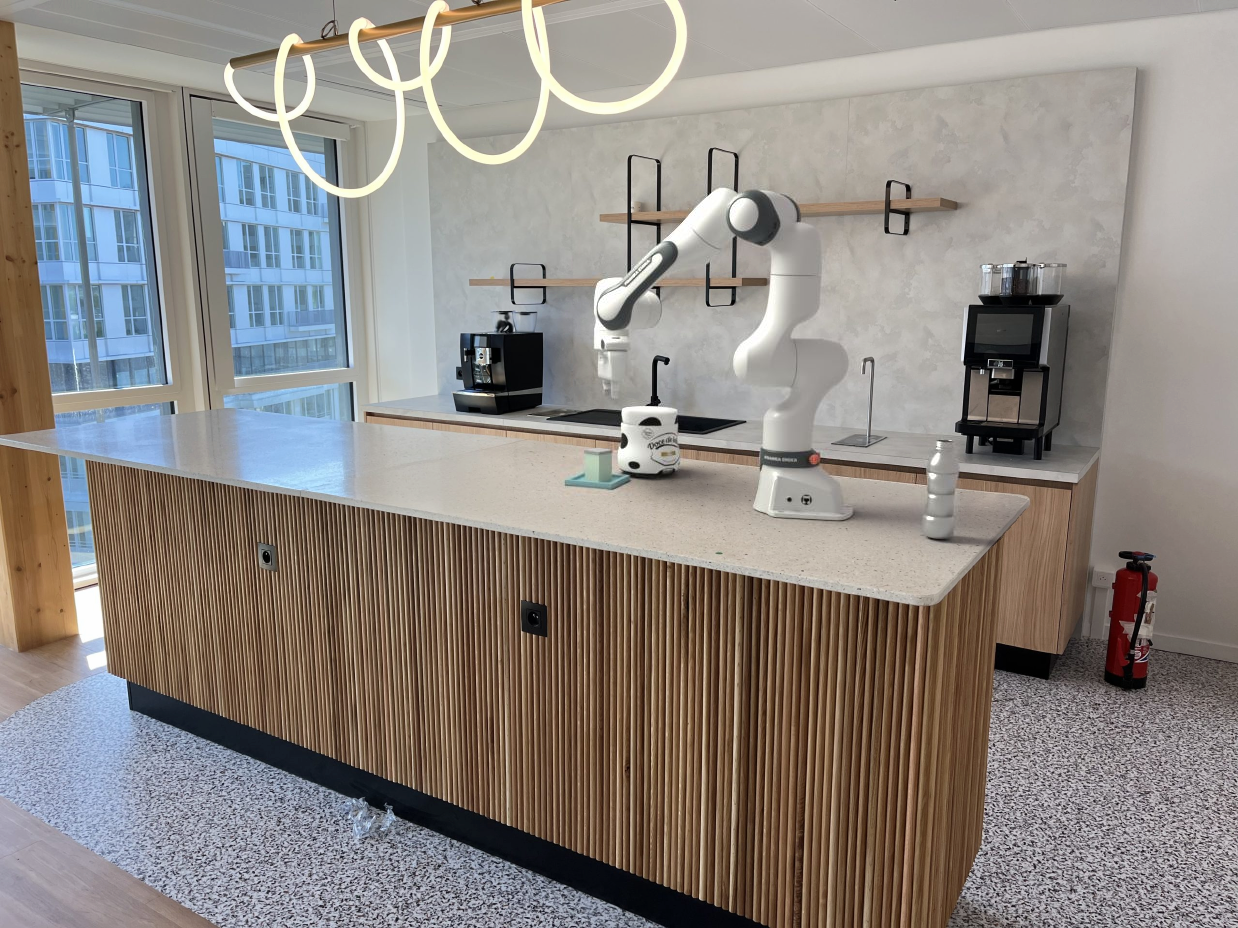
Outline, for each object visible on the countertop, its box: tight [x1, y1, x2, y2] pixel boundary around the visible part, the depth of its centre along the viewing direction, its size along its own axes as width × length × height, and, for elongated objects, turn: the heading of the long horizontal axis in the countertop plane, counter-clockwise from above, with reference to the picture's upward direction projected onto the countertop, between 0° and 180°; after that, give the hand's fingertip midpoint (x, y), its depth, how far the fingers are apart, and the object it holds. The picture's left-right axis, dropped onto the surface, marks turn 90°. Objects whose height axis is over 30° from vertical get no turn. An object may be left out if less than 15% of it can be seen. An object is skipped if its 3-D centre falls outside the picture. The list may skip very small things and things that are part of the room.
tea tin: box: [583, 447, 614, 482], centre depth 233 cm, size 5×5×8 cm
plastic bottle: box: [921, 439, 960, 540], centre depth 180 cm, size 6×7×20 cm
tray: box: [564, 471, 631, 490], centre depth 233 cm, size 13×13×1 cm
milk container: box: [617, 405, 682, 478], centre depth 244 cm, size 17×17×18 cm
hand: (611, 397), depth 228 cm, fingers open, 8 cm apart
